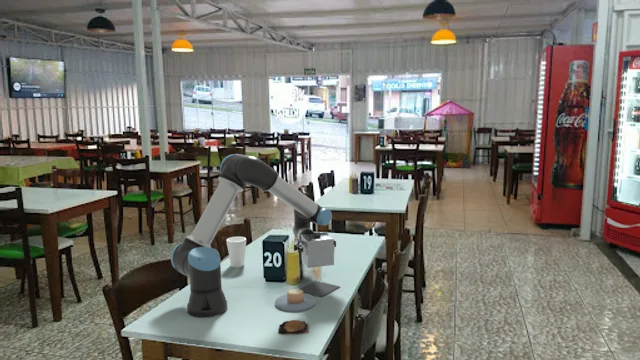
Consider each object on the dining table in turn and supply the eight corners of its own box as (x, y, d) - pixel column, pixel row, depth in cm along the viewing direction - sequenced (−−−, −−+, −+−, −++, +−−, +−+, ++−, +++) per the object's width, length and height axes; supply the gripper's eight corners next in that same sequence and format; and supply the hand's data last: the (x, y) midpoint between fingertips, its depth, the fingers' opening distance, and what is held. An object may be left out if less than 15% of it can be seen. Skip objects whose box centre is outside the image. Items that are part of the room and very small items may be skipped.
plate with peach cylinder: (299, 315, 188) (298, 303, 188) (266, 305, 198) (266, 294, 197) (323, 300, 201) (323, 289, 201) (292, 292, 210) (291, 281, 210)
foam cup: (249, 262, 252) (248, 236, 250) (244, 268, 242) (243, 242, 240) (230, 262, 253) (229, 236, 250) (225, 268, 243) (224, 241, 241)
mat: (322, 297, 205) (322, 296, 205) (296, 290, 212) (296, 290, 212) (339, 287, 215) (339, 286, 215) (315, 281, 223) (315, 280, 223)
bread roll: (308, 324, 182) (308, 315, 181) (309, 335, 173) (308, 325, 173) (278, 325, 181) (278, 316, 181) (277, 336, 173) (277, 326, 172)
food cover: (334, 265, 208) (333, 235, 206) (308, 267, 205) (307, 237, 203) (326, 257, 218) (326, 228, 216) (302, 259, 216) (301, 230, 214)
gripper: (332, 242, 231) (347, 256, 210) (282, 247, 226) (292, 262, 205) (332, 226, 230) (347, 239, 209) (281, 231, 224) (291, 244, 203)
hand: (319, 250), depth 207 cm, fingers closed on food cover, 11 cm apart
